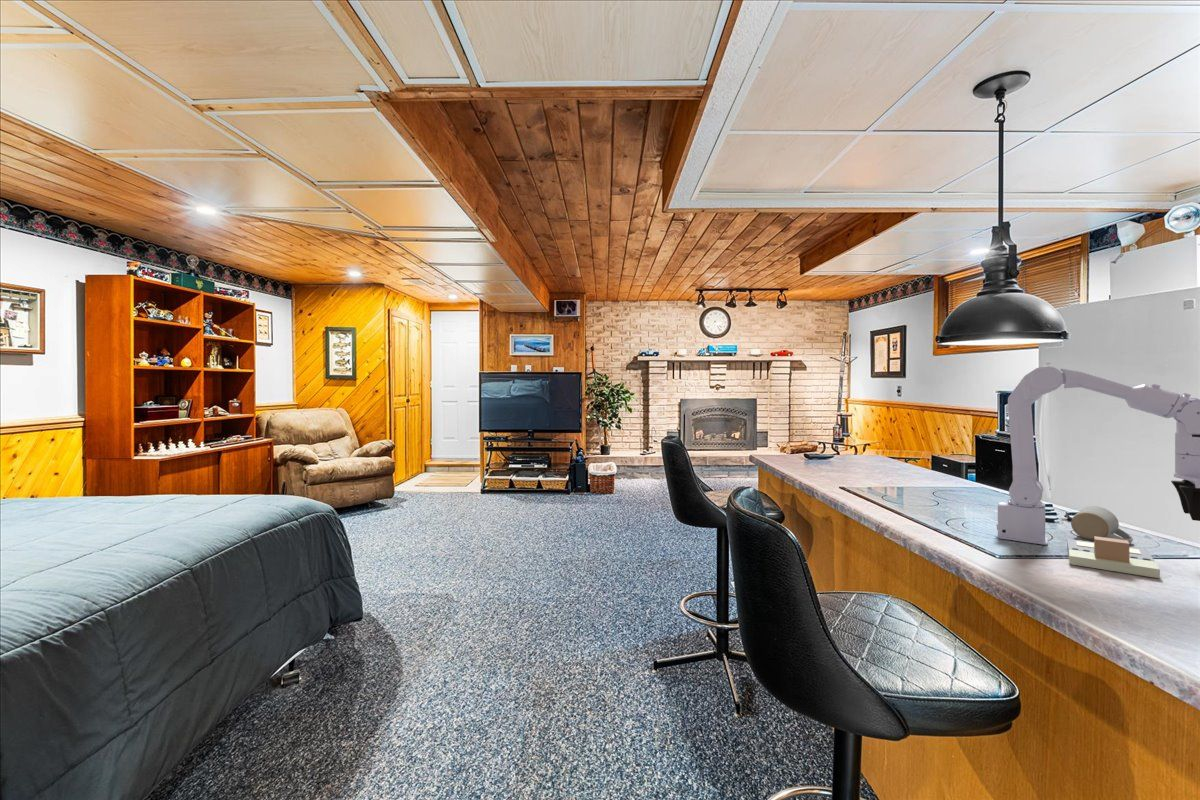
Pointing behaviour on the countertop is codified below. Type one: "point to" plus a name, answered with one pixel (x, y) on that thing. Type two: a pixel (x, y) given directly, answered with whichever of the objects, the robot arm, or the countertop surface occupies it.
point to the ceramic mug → (1098, 524)
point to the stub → (1113, 558)
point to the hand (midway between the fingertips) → (1195, 517)
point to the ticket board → (1089, 547)
